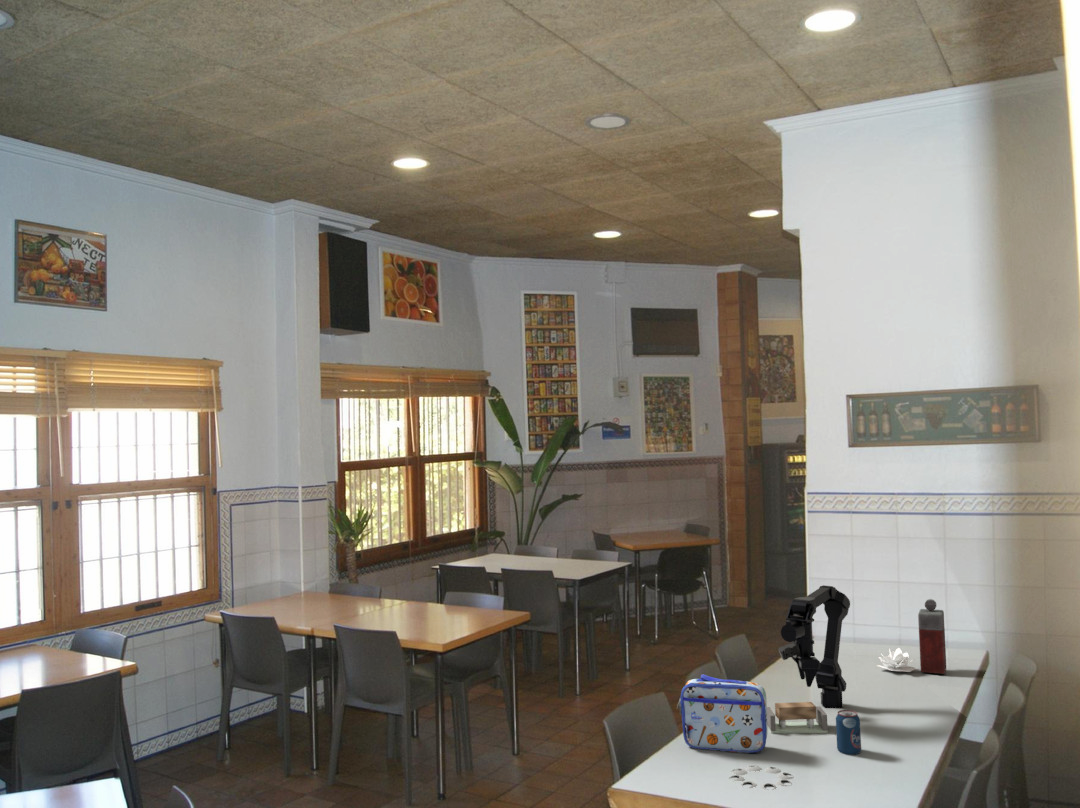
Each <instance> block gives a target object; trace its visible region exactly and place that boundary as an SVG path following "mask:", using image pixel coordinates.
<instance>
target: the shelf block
mask: <svg viewBox="0 0 1080 808" xmlns="http://www.w3.org/2000/svg"><path fill="white" fill-rule="evenodd" d="M816 707H817V706H816V705H815V704H814V703H813V702H812V701H799V702H796V701H795V702H775V703H774V709H775V711H774V712H775V713H774V715H775V718H777V719H778V721H779V720H785V721H793V720H794V721H795V720H796V721H797V720H806V719H814V720H816Z"/></svg>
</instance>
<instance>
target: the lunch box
mask: <svg viewBox="0 0 1080 808" xmlns="http://www.w3.org/2000/svg"><path fill="white" fill-rule="evenodd" d="M680 692H681V693H680V697H679V699H678V700H679V701H678V703H677V706H676V709H677V710H678V709H679V715H681V723H682V735H683V739H684V742H685V744H686V745H687V747H690V748H692V749H695V748H697V749H696V750H699V749H700V750H706V749H709V751H716V750H720V751H719V752H725V751H730V752H729V753H742V754H743V753H748V754H752V753H760V752H761V751H763V750H764V749H765V747H766V744H767V738H768V727H767V726H768V720H767V707H768V705H767V703H768V702H767V692H766V690H765V688H764V686H762V684H759V683H757V682H751V681H748V680H745V681H744V680H737V679H723V678H716V677H713V676H710V675H707V674H703V673H702V674H701V675H700V678H693V679H689V680H688V681H687V682H686V683H685V685H684V686H683V688H682V689H681V691H680Z"/></svg>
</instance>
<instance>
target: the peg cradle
mask: <svg viewBox="0 0 1080 808" xmlns="http://www.w3.org/2000/svg"><path fill="white" fill-rule="evenodd" d="M767 720H768V726H767V730H768V731H769V732H770V734H819V733H820V734H821V733H822V734H824V733H825V734H827V733H829V731H828V729H829V728H828V714H827V713H826V712H825V710H824V709H823V708H822V706H816V719H805V720H806V721H787V720H779V719H778V721H776V715H775V713H774V711H773V710H772V709H771V707H770V706H769V707H768V706H767ZM814 720H815V721H814Z"/></svg>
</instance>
